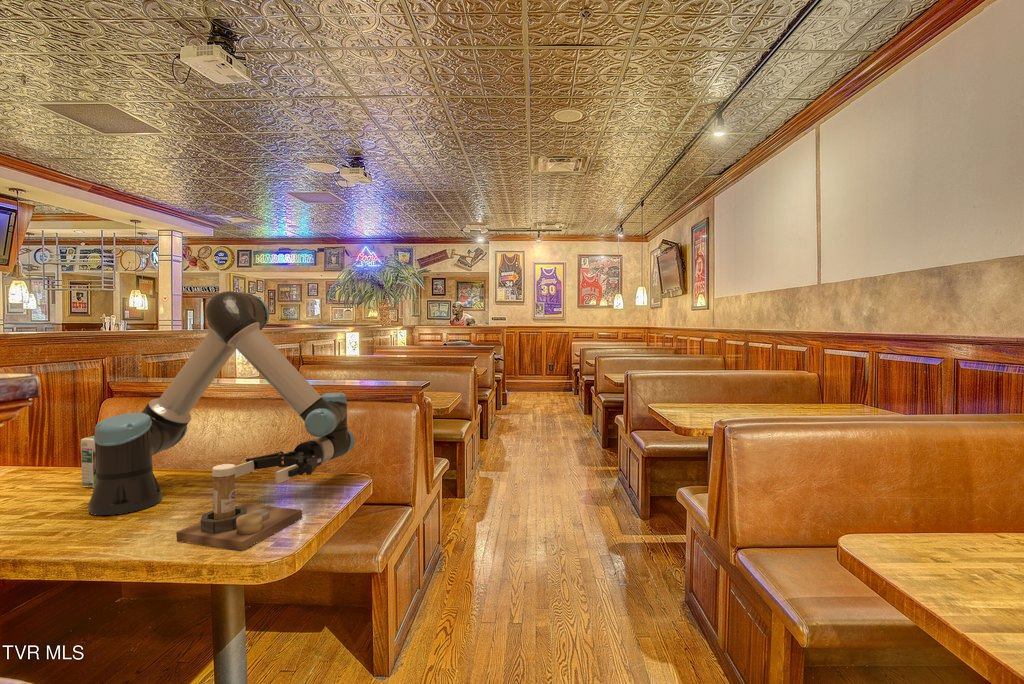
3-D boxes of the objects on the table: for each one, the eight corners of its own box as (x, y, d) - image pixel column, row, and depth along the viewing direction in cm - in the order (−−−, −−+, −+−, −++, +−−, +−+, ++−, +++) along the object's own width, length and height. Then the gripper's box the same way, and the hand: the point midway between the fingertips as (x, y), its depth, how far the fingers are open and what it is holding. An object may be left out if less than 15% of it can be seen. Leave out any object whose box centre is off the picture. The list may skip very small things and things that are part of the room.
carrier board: (176, 541, 108) (175, 518, 108) (242, 510, 125) (242, 491, 125) (242, 551, 103) (241, 527, 103) (302, 518, 120) (301, 497, 120)
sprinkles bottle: (232, 527, 110) (231, 468, 110) (209, 529, 109) (209, 469, 109) (239, 519, 115) (238, 462, 114) (217, 521, 114) (216, 463, 113)
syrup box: (81, 487, 144) (79, 438, 144) (102, 481, 150) (100, 434, 150) (96, 489, 143) (94, 439, 142) (116, 482, 149) (114, 435, 148)
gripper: (351, 469, 137) (296, 495, 116) (277, 462, 144) (214, 486, 124) (350, 442, 136) (295, 464, 116) (276, 437, 144) (213, 456, 123)
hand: (253, 475), depth 120 cm, fingers open, 13 cm apart
